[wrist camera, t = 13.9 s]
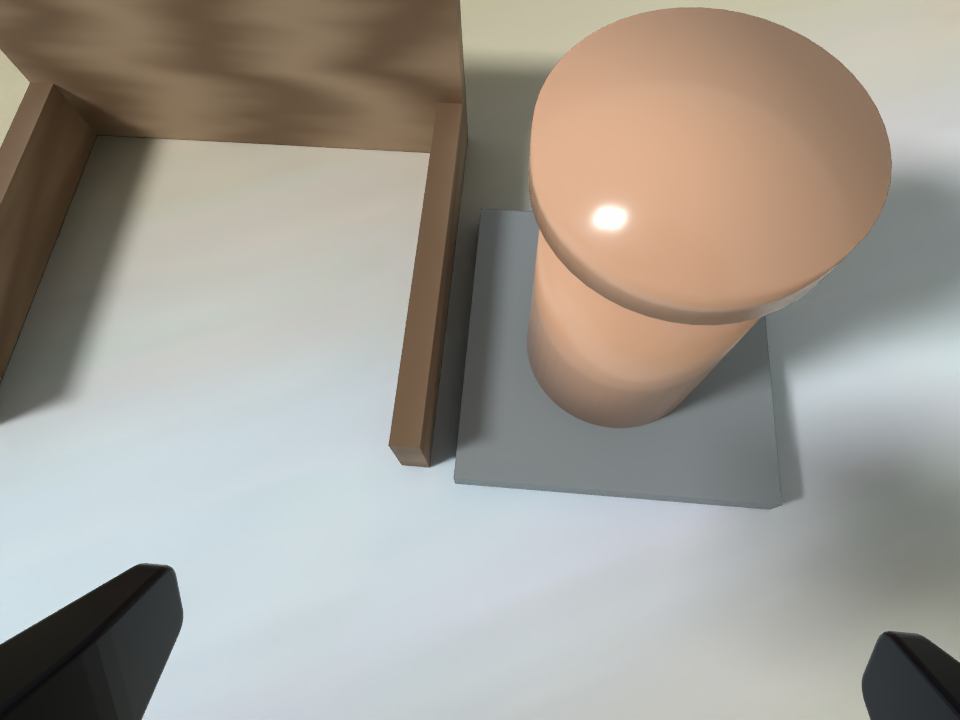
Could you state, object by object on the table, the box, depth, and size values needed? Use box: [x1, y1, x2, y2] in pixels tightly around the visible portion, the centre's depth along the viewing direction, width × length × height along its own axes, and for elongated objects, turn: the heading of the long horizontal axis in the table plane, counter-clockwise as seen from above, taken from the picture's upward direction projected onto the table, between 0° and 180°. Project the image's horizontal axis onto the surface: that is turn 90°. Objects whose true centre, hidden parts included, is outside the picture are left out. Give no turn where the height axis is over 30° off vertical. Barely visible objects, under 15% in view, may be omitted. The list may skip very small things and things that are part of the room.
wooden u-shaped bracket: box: [0, 0, 468, 467], centre depth 22 cm, size 18×15×8 cm
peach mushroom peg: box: [527, 8, 892, 428], centre depth 18 cm, size 7×7×11 cm
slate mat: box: [454, 209, 782, 509], centre depth 23 cm, size 11×11×1 cm
